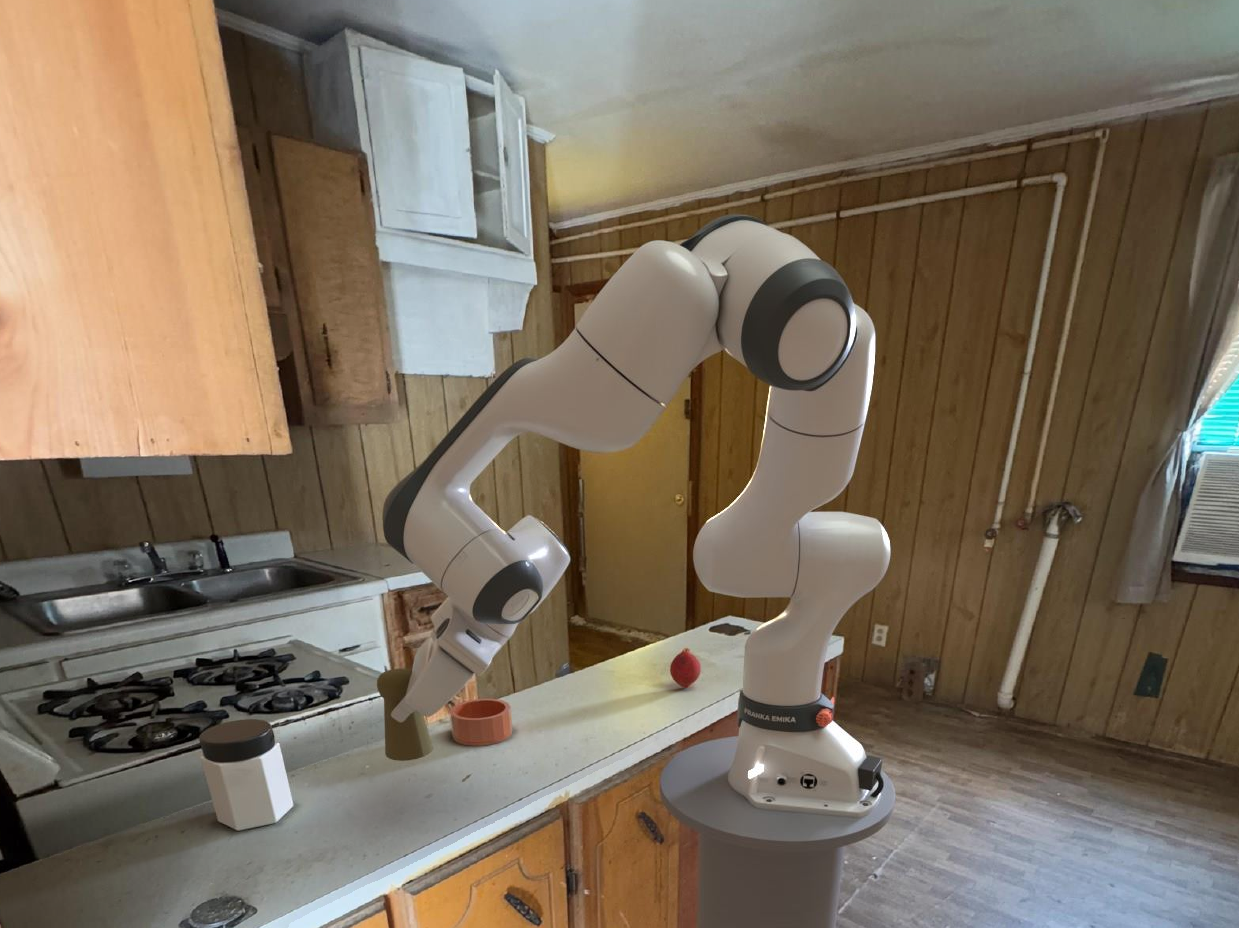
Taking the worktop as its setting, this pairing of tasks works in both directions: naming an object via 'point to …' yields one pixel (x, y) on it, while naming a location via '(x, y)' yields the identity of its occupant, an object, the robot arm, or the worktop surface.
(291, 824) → the worktop surface
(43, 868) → the worktop surface
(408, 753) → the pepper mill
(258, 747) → the jar
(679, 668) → the pomegranate
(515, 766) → the worktop surface
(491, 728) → the bowl
